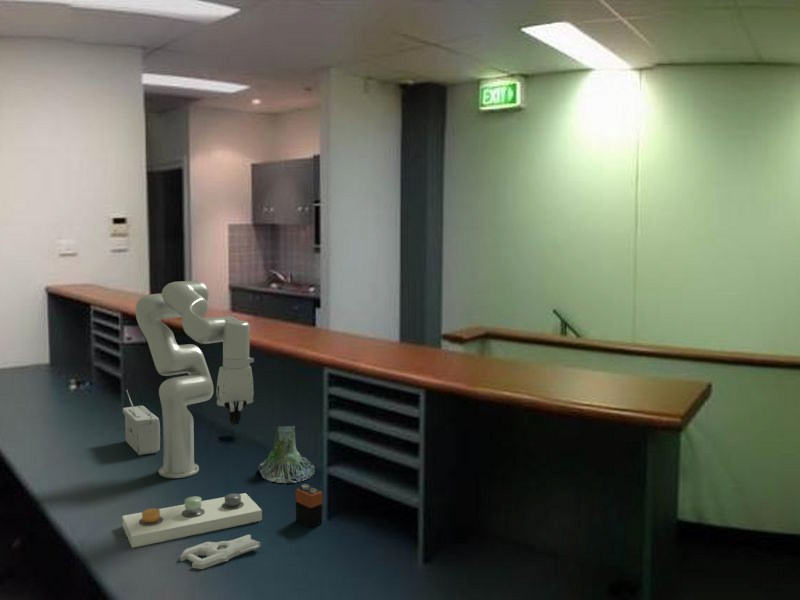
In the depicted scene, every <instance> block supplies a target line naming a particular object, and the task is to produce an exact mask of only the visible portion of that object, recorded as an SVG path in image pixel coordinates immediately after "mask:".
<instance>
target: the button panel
mask: <svg viewBox="0 0 800 600" xmlns="http://www.w3.org/2000/svg"><path fill="white" fill-rule="evenodd" d="M239 494H240V495H241V504H240V505H238V506H233V507H229V506H226V505H225V496H223V497H218V498H212V499H206V500H201V504H202V506H201V507H200V508H199V509H195V510H187V509H185V503H183V504H180V505H179V504H178V505H174V506H168V507H164V508H158V509H159V510H160V519H159V520H158V521H155V522H151V523H146V522H143V521H142V512H143V511H141V512H135V513H131V514H125V515H122V518H121V519H122V528H123V530H125V531H124V533H125V534H126V537H128V538H127V540H128V542H129V544H130V546H131V548H132V549H133V548H137V547H142V546H147V545H151V544H156V543H161V542H166V541H171V540H175V539H176V540H177V539H181V538H185V537H189V536H194V535H200V534H205V533H209V532H214V531H220V530H223V529H228V528H233V527H237V526H242V525H248V524H252V522H253V523H256V522H257V521H258V522H262V521H263V510H262V508H261V507H259V505H258V504H257V503H256V502H255V501H254V500H253V499H252V498H251V496H249V495H248V494H247V493H246V492H245V493H244V492H243V493H239ZM261 520H262V521H261Z"/></svg>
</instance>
